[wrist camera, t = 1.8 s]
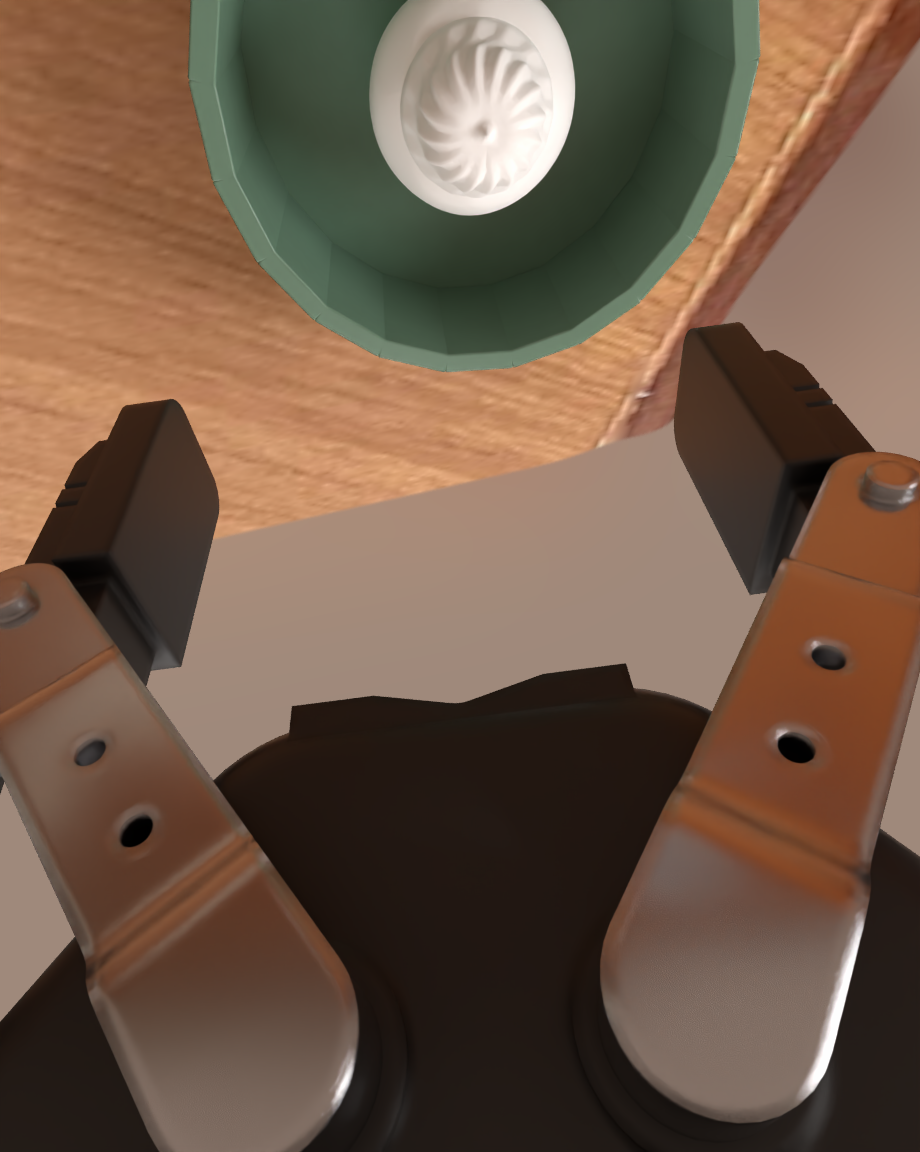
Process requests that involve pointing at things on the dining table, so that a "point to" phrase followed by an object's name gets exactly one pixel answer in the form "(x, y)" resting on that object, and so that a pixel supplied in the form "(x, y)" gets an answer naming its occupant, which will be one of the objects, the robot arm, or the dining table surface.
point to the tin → (478, 242)
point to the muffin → (471, 100)
